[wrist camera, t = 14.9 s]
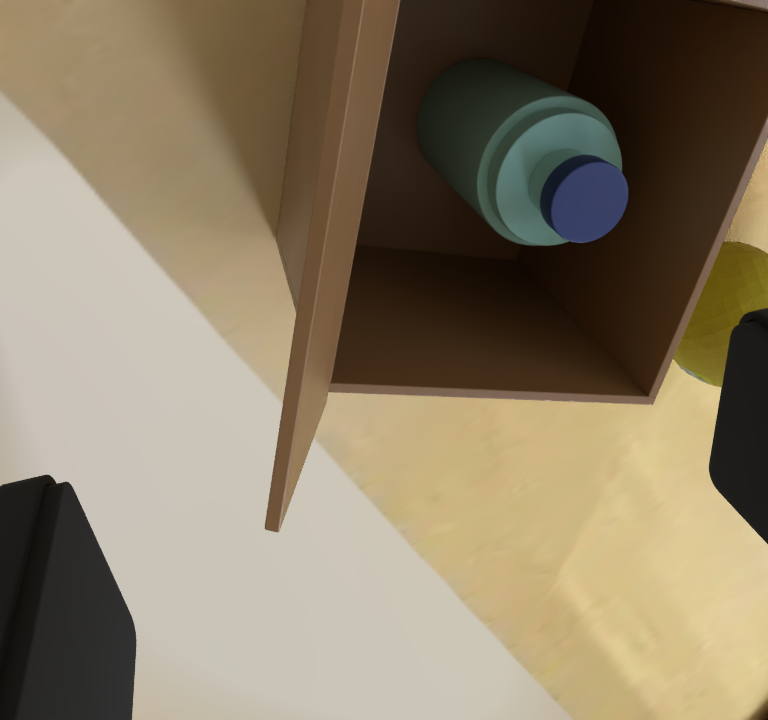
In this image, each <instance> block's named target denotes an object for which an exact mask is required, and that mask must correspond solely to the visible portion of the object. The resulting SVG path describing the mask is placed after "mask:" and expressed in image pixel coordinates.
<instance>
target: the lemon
mask: <svg viewBox="0 0 768 720" xmlns="http://www.w3.org/2000/svg"><path fill="white" fill-rule="evenodd" d="M764 308H768V254H767V253H766V252H764V251H762V250H760V249H758V248H756V247H753V246H751V245H748V244H745V243H741V242H723V243H722V246H721V248H720V250H719V253H718V255H717V257H716V259H715V262H714V264H713V266H712V269H711V271H710V273H709V276H708V278H707V280H706V283H705V285H704V287H703V290H702V292H701V294H700V297H699V299H698V301H697V304H696V306H695V308H694V311H693V313H692V315H691V318H690V320H689V322H688V324H687V327H686V329H685V331H684V334H683V336H682V338H681V341H680V343H679V345H678V348H677V350H676V352H675V355H674V357H673V359H674V360H675V361H676V362H677V364H678V365H679V366H680V368H681V369H683V370H684V371H685V372H687V373H688V374H690V375H692V376H694V377H695V378H697V379H699V380H701V381H703V382H705V383H707V384H711V385H714V386H718V387H722V383H723V377H724V371H725V365H726V359H727V353H728V347H729V341H730V335H731V332H732V330H733V328H734V327H735V326H737V325H739V322H740V319H741V318H742V317H743V315H744V314H746V313H748V312H751V311H755V310H760V309H764Z"/></svg>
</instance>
